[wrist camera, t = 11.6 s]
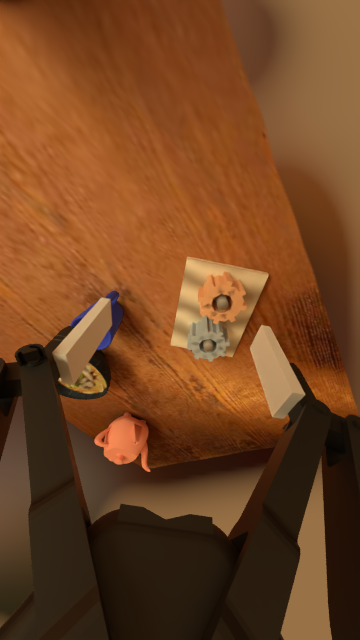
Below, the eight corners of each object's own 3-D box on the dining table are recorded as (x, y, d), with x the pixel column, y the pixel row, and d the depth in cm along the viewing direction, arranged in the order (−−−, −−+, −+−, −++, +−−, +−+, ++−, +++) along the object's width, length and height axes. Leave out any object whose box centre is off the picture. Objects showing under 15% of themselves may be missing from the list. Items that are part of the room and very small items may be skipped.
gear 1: (203, 267, 37) (204, 276, 33) (249, 276, 37) (255, 286, 33) (193, 307, 42) (193, 319, 38) (234, 315, 42) (237, 328, 38)
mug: (139, 292, 43) (124, 315, 34) (120, 328, 49) (103, 356, 40) (105, 273, 41) (80, 292, 32) (89, 313, 47) (65, 338, 38)
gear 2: (184, 319, 44) (183, 332, 39) (224, 313, 42) (227, 326, 38) (192, 348, 48) (191, 363, 44) (228, 344, 46) (231, 359, 42)
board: (187, 256, 37) (185, 267, 32) (266, 272, 38) (279, 285, 32) (171, 341, 49) (167, 360, 44) (231, 352, 50) (235, 373, 44)
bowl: (127, 375, 58) (115, 405, 50) (76, 377, 61) (56, 405, 52) (108, 330, 49) (89, 357, 41) (49, 334, 52) (20, 360, 43)
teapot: (146, 408, 67) (135, 451, 55) (157, 433, 75) (150, 475, 64) (104, 409, 69) (85, 450, 58) (119, 433, 78) (106, 473, 67)
